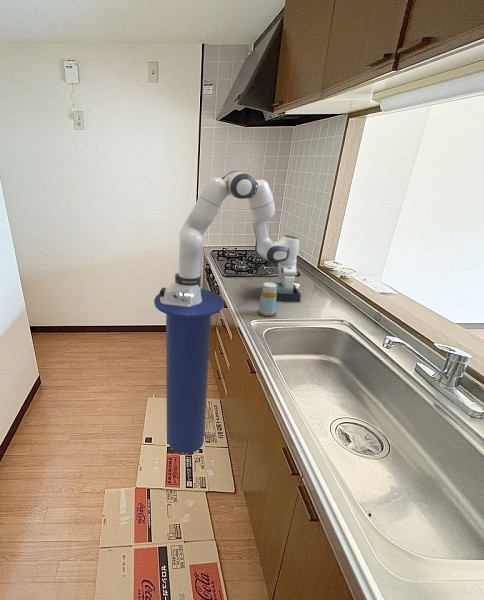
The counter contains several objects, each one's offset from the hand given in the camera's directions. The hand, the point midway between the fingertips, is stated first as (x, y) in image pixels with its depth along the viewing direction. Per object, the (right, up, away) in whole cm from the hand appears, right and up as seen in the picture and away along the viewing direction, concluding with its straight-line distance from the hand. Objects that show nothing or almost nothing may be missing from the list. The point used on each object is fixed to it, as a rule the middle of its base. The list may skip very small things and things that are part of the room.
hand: (283, 291), depth 175 cm
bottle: (-15, -12, -19) cm, 27 cm away
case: (0, -2, +1) cm, 2 cm away
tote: (0, -2, +1) cm, 3 cm away
